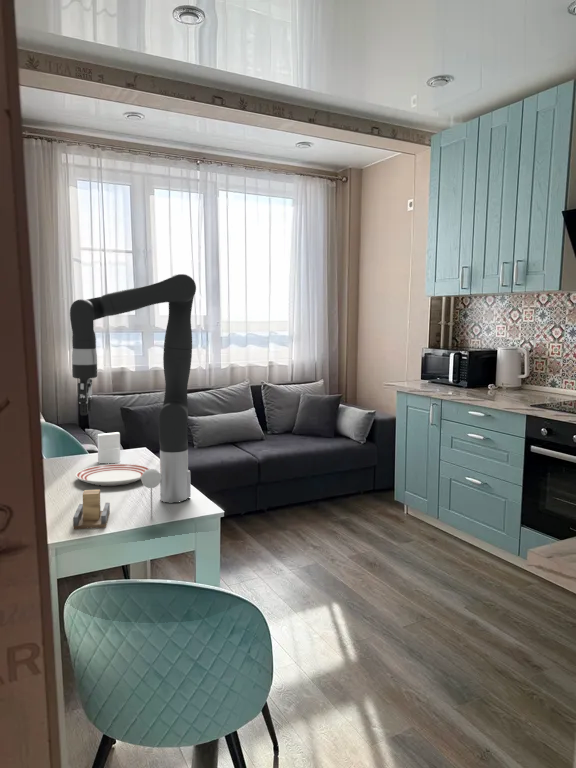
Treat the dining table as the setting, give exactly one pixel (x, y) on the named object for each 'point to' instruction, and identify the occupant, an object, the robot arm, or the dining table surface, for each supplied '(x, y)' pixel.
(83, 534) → the dining table surface
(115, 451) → the base with upright slab
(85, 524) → the walnut track
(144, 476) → the lollipop
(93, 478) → the dinner plate
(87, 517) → the oak block
